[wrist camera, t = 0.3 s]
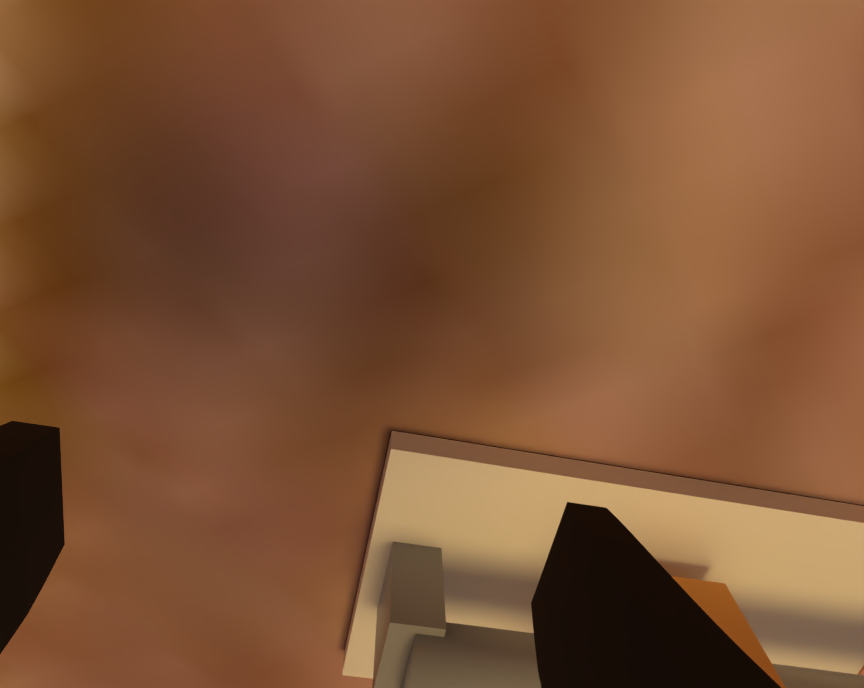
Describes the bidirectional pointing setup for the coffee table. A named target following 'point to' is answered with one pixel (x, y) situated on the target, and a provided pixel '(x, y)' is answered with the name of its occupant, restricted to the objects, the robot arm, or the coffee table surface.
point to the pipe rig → (530, 545)
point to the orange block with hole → (728, 619)
